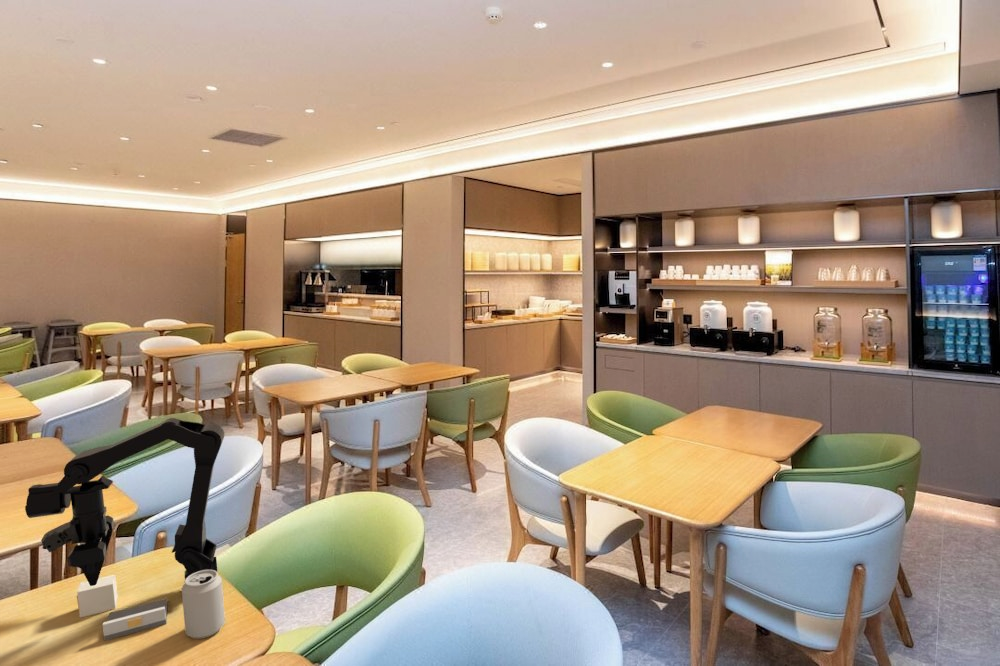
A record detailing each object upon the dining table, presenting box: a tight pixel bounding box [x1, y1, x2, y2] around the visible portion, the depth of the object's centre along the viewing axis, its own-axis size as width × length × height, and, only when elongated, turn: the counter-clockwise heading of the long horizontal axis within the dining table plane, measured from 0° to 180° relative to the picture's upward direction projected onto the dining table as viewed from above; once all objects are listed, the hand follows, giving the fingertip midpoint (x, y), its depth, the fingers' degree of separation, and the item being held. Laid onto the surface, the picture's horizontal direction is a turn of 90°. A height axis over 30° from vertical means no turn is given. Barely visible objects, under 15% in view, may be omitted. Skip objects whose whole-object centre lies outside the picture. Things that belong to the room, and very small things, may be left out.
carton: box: [76, 574, 119, 618], centre depth 128 cm, size 7×4×6 cm
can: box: [181, 570, 226, 640], centre depth 119 cm, size 8×8×12 cm
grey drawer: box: [102, 598, 168, 642], centre depth 123 cm, size 11×9×4 cm
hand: (96, 575), depth 127 cm, fingers open, 9 cm apart
